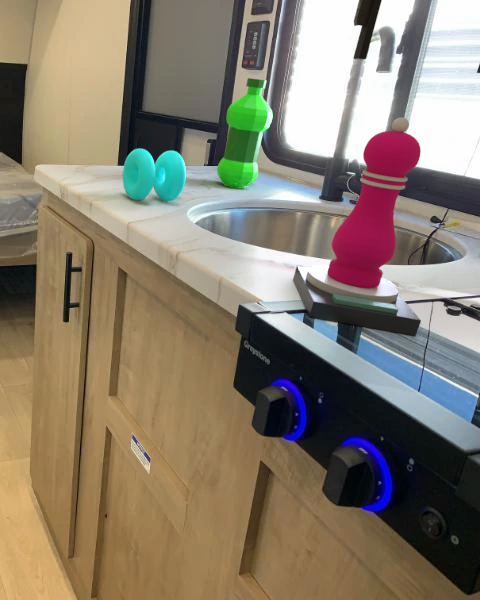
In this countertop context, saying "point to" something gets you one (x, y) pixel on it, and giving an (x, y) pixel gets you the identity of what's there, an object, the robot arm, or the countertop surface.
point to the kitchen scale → (354, 302)
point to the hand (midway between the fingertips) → (421, 66)
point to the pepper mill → (374, 209)
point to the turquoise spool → (154, 175)
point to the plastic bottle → (245, 136)
